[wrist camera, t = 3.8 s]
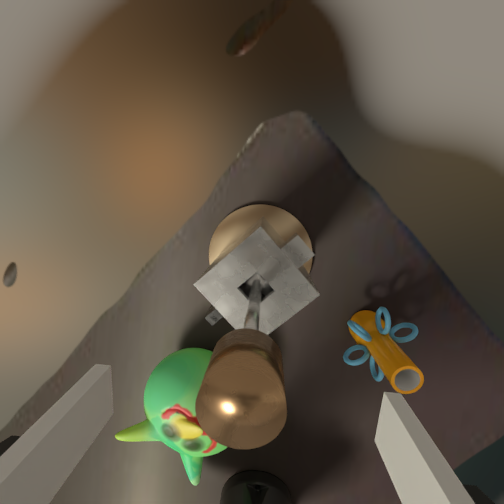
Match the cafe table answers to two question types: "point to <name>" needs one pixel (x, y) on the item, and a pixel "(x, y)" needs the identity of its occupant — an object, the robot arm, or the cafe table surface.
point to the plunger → (244, 382)
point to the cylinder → (384, 349)
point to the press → (269, 267)
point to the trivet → (249, 216)
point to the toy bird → (176, 410)
